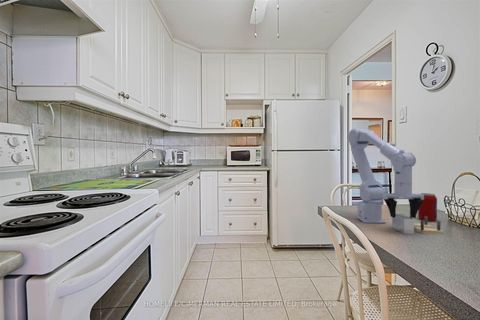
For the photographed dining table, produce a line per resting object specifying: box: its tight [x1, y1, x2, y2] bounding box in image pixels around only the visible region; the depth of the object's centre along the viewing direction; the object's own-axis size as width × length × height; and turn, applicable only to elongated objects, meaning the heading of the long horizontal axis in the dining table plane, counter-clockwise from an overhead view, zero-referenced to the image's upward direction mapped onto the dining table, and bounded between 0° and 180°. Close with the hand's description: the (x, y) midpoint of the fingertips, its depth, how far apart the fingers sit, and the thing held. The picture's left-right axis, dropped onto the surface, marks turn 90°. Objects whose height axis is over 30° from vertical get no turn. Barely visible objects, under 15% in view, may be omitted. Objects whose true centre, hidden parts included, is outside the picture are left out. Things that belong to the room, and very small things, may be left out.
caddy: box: [408, 215, 445, 235], centre depth 94 cm, size 10×8×4 cm
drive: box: [391, 213, 415, 235], centre depth 93 cm, size 8×4×6 cm, turn 175°
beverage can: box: [417, 192, 438, 222], centre depth 108 cm, size 7×7×12 cm
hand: (402, 217), depth 93 cm, fingers open, 7 cm apart
